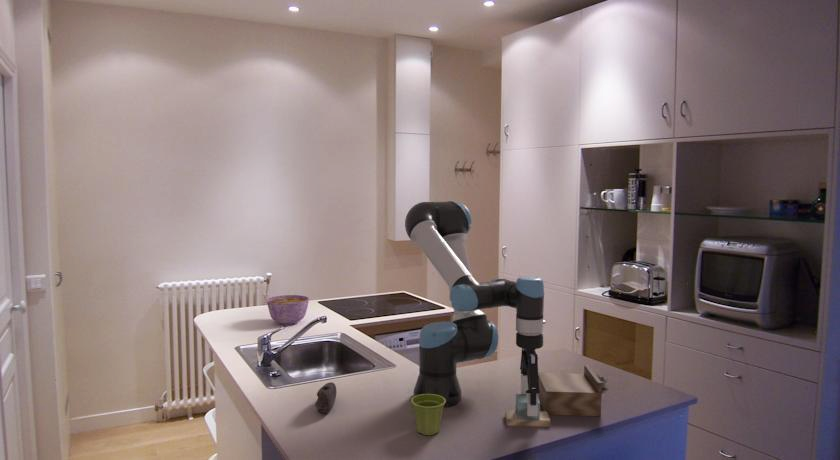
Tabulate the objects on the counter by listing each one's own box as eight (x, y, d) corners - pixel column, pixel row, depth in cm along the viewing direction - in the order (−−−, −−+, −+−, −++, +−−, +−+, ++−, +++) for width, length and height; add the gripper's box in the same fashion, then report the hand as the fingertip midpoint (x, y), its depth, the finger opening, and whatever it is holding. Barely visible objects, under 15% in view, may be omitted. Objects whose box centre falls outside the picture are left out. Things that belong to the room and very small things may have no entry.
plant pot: (409, 423, 153) (410, 393, 153) (443, 422, 154) (443, 393, 154) (412, 439, 144) (412, 407, 143) (447, 438, 145) (447, 406, 144)
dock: (545, 414, 160) (546, 381, 159) (536, 393, 176) (537, 363, 175) (600, 416, 159) (602, 382, 159) (587, 395, 175) (588, 364, 174)
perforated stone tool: (325, 396, 173) (325, 375, 172) (341, 397, 172) (341, 376, 172) (312, 417, 158) (312, 393, 157) (330, 417, 157) (330, 394, 157)
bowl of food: (259, 327, 254) (258, 302, 253) (277, 316, 274) (277, 294, 273) (300, 329, 251) (299, 304, 250) (315, 318, 271) (315, 295, 270)
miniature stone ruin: (590, 395, 176) (590, 383, 176) (571, 388, 182) (571, 376, 182) (609, 387, 182) (610, 375, 182) (590, 381, 188) (591, 369, 188)
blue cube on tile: (507, 426, 153) (507, 401, 152) (504, 416, 159) (505, 393, 158) (550, 427, 152) (550, 403, 152) (546, 418, 158) (547, 394, 158)
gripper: (551, 344, 141) (550, 424, 142) (536, 322, 166) (535, 390, 167) (521, 344, 141) (521, 424, 143) (511, 321, 166) (510, 390, 167)
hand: (528, 406), depth 155 cm, fingers open, 13 cm apart
